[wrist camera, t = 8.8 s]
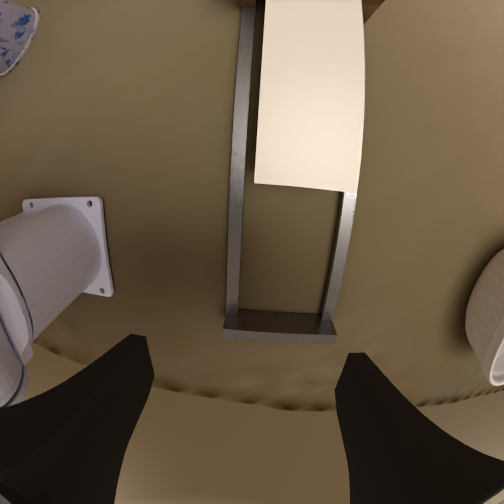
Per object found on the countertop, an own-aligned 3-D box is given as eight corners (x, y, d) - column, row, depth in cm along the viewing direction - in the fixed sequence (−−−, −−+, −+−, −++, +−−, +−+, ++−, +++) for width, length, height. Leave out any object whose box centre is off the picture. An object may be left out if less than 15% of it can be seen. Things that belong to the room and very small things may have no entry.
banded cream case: (257, 173, 16) (252, 183, 11) (268, -17, 11) (268, -59, 6) (331, 180, 16) (357, 193, 11) (337, -8, 11) (356, -46, 6)
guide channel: (227, 317, 20) (222, 337, 18) (243, 10, 12) (240, -8, 10) (328, 323, 20) (334, 343, 17) (360, 24, 12) (371, 10, 9)
